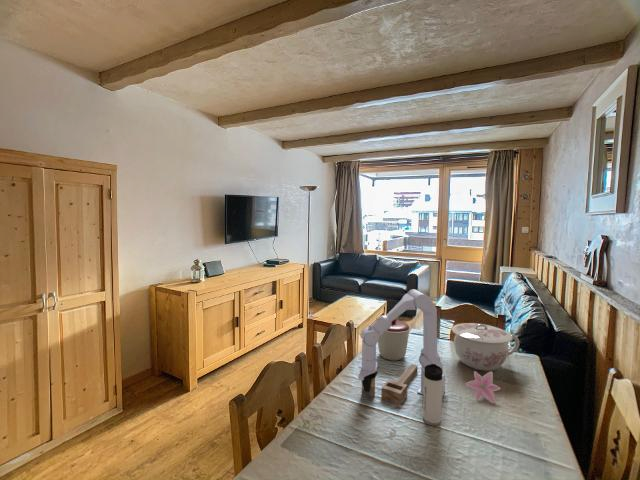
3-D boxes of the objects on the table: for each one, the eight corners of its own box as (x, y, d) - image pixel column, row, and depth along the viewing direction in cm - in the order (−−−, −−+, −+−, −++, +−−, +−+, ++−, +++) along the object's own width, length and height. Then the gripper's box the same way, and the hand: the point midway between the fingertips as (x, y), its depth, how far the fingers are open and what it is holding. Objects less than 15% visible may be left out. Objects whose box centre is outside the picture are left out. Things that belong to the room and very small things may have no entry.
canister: (413, 364, 163) (415, 323, 162) (377, 364, 164) (378, 323, 162) (405, 349, 181) (406, 312, 180) (372, 349, 182) (373, 312, 180)
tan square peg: (374, 397, 134) (375, 378, 133) (372, 399, 132) (373, 380, 132) (363, 393, 137) (364, 375, 136) (361, 395, 135) (361, 377, 134)
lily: (460, 394, 138) (465, 381, 133) (472, 376, 145) (477, 362, 139) (489, 414, 131) (495, 401, 126) (500, 393, 138) (506, 380, 132)
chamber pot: (440, 363, 165) (441, 323, 163) (464, 348, 183) (465, 312, 182) (500, 385, 144) (502, 339, 142) (520, 365, 163) (522, 325, 161)
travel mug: (440, 416, 121) (442, 364, 120) (441, 427, 115) (443, 373, 113) (423, 413, 123) (424, 362, 122) (422, 423, 117) (424, 370, 116)
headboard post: (422, 373, 154) (422, 364, 153) (400, 404, 129) (400, 393, 129) (406, 369, 158) (406, 360, 158) (381, 398, 133) (381, 387, 133)
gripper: (367, 349, 141) (367, 379, 142) (351, 361, 129) (351, 394, 130) (382, 353, 137) (382, 384, 139) (367, 366, 125) (367, 400, 127)
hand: (368, 389), depth 134 cm, fingers closed on tan square peg, 2 cm apart
